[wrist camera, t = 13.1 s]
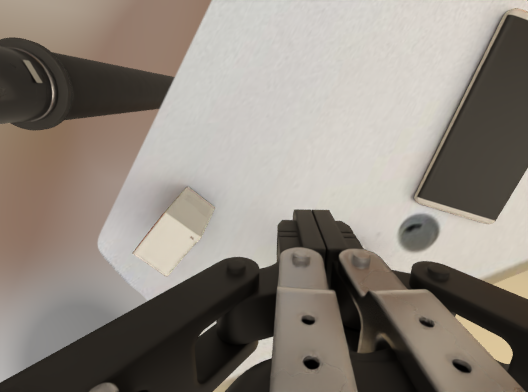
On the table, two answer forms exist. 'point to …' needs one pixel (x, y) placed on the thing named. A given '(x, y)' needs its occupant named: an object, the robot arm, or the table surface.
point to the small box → (175, 232)
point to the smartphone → (485, 132)
